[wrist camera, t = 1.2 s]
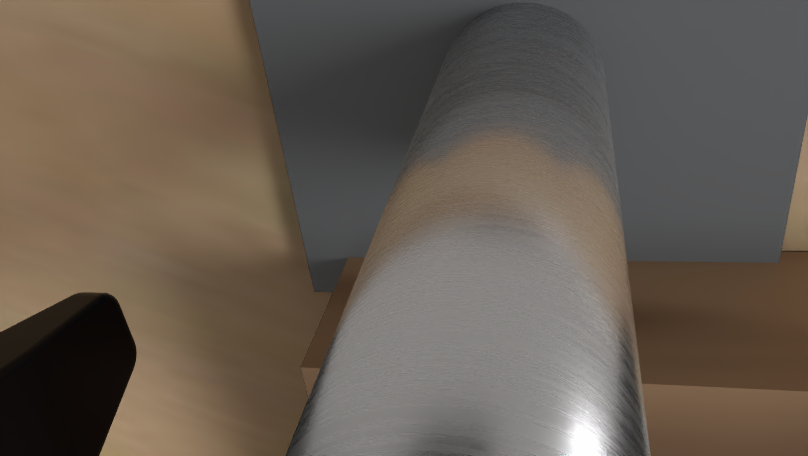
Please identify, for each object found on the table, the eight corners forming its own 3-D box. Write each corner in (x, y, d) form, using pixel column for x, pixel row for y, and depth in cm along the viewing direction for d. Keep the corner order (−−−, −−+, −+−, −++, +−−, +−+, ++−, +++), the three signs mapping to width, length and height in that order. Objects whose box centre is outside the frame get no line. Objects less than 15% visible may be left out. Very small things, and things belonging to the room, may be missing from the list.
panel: (766, 290, 15) (771, 302, 15) (318, 281, 18) (314, 291, 17) (874, -280, 10) (883, -281, 10) (216, -193, 12) (206, -192, 12)
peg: (601, 154, 14) (653, 724, 6) (448, 157, 15) (296, 673, 6) (607, -3, 12) (688, 472, 4) (434, 8, 13) (208, 439, 5)
